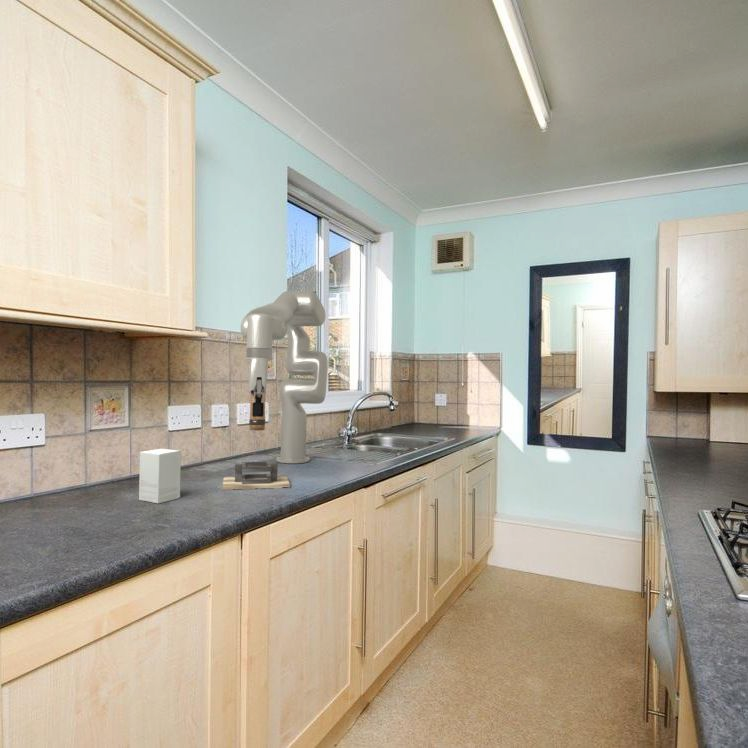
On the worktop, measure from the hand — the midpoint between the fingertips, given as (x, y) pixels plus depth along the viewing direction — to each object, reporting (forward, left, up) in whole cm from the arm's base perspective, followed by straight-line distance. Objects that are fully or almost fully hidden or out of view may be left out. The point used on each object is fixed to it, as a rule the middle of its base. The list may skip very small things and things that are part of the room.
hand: (257, 415), depth 151 cm
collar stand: (0, 0, -21) cm, 21 cm away
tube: (0, 0, -4) cm, 4 cm away
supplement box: (+14, -25, -21) cm, 35 cm away
